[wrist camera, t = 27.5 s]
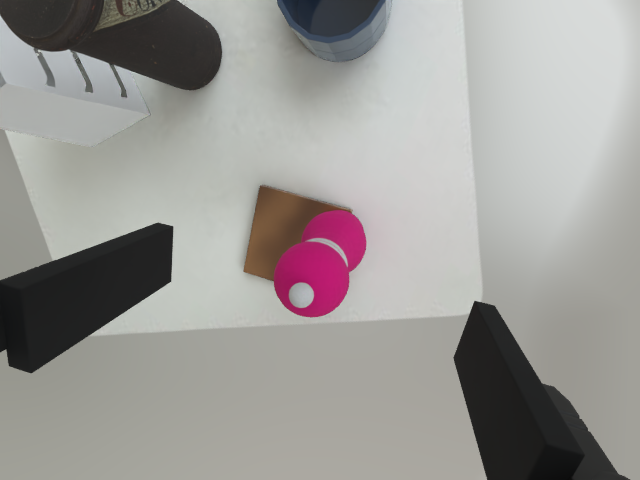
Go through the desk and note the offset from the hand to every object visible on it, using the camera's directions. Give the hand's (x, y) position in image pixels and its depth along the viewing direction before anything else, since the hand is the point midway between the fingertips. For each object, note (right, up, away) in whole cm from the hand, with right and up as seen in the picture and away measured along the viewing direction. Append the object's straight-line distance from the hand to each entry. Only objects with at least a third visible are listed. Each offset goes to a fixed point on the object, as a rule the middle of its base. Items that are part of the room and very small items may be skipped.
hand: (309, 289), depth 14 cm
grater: (-28, +22, +31) cm, 47 cm away
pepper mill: (+3, +3, +28) cm, 28 cm away
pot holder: (-3, +2, +30) cm, 30 cm away
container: (-15, +25, +27) cm, 40 cm away
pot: (+3, +27, +23) cm, 36 cm away
